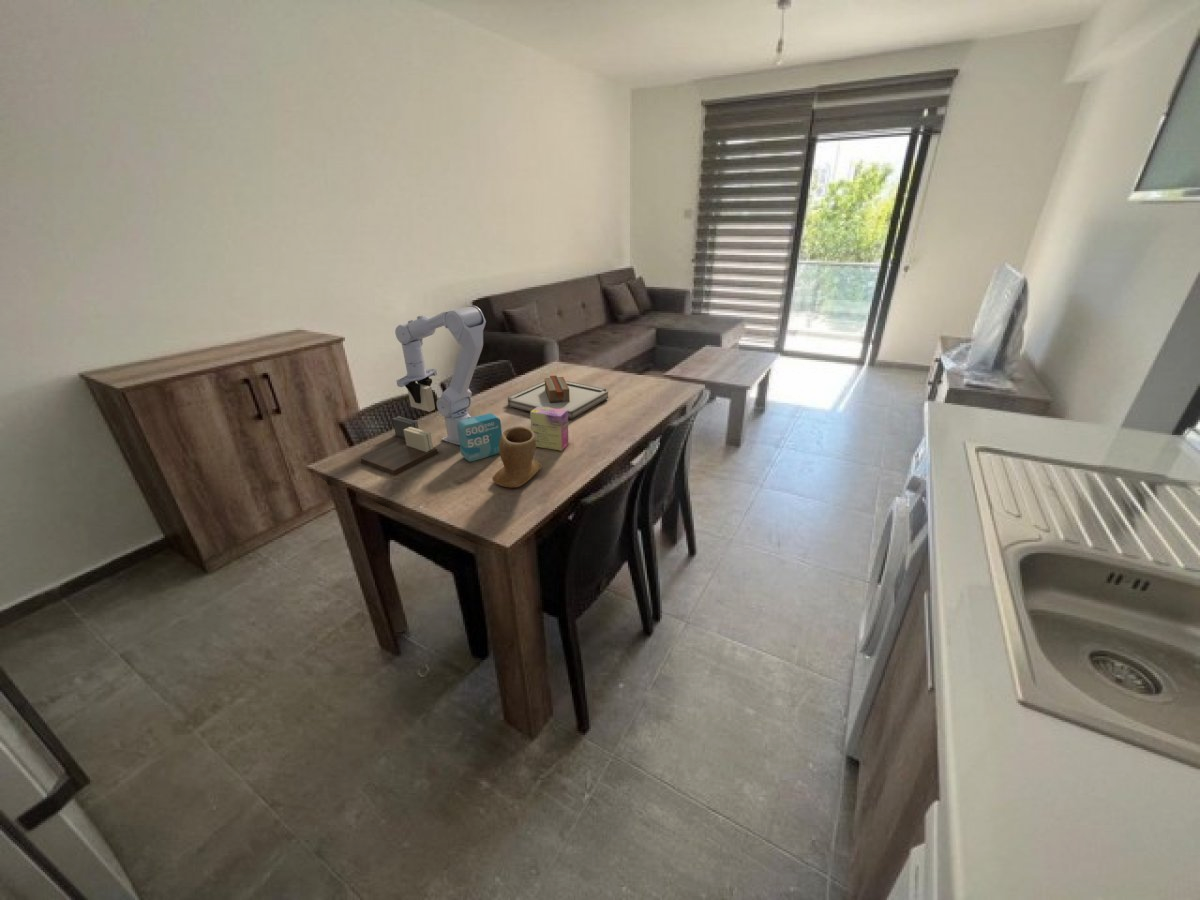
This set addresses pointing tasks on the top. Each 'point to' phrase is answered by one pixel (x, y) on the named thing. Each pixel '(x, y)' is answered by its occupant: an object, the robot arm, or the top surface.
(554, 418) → the box
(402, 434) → the grey books
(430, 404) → the white book
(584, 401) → the grey square tray
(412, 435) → the cream books
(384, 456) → the shelf board
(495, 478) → the stone cup
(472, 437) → the data package
